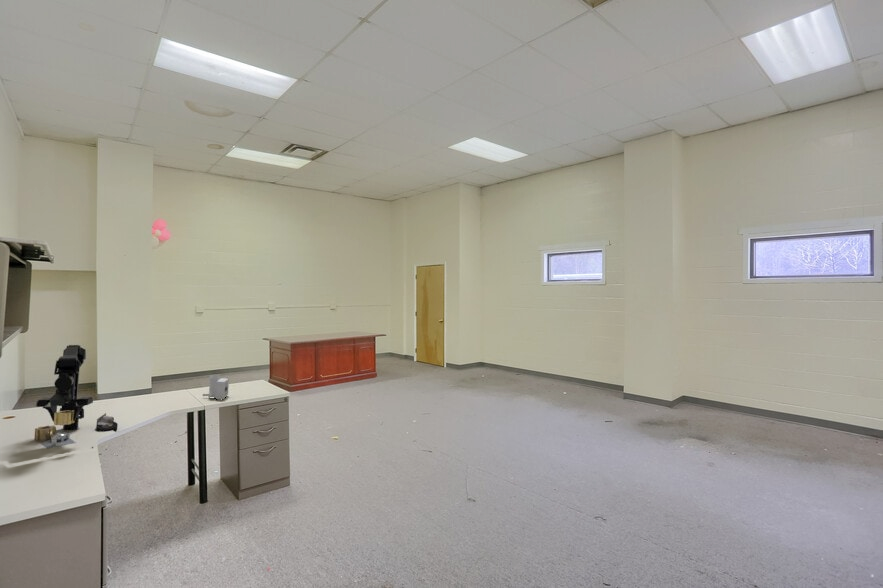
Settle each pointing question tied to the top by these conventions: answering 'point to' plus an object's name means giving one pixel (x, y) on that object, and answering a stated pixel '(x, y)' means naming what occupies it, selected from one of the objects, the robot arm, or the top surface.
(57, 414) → the planet gear
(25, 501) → the top surface
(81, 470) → the top surface
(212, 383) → the grey block housing
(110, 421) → the caster wheel
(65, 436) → the sun gear
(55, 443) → the plate
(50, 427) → the seated gear
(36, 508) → the top surface
